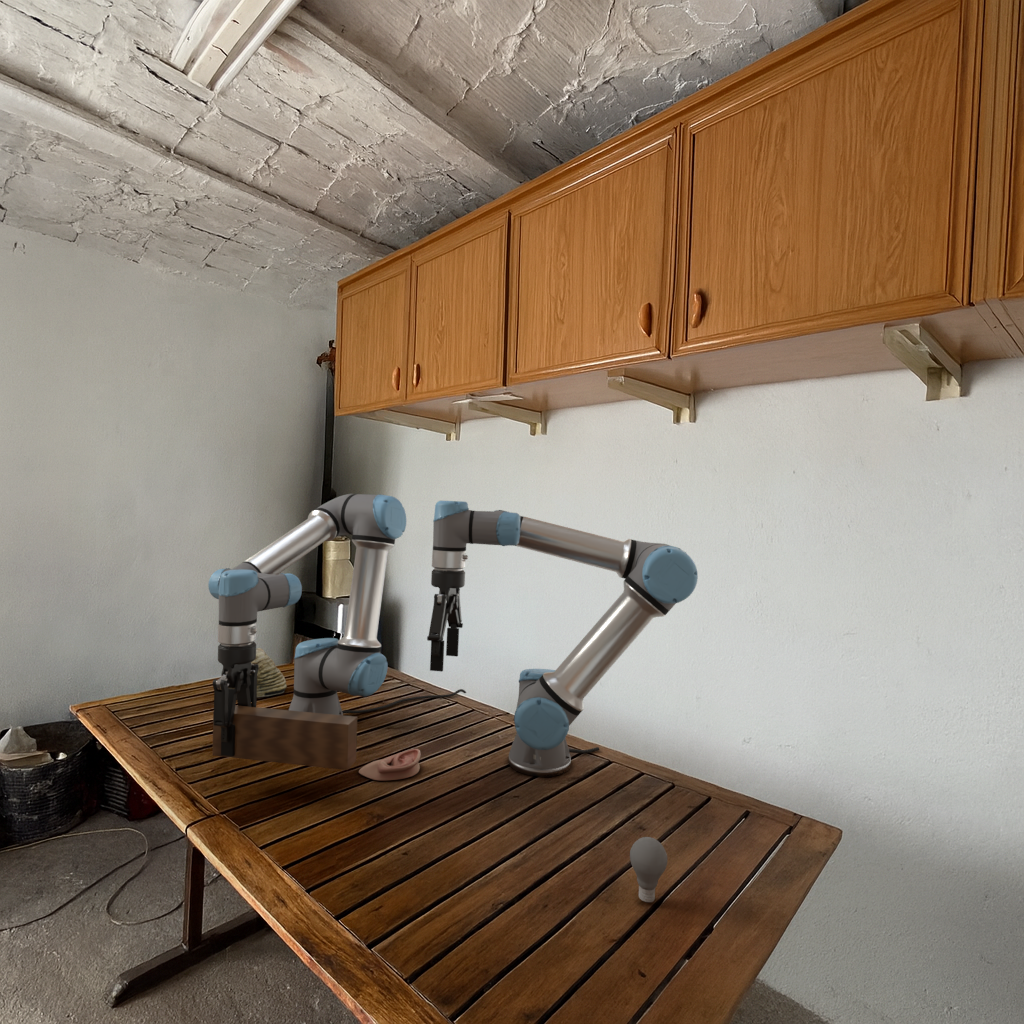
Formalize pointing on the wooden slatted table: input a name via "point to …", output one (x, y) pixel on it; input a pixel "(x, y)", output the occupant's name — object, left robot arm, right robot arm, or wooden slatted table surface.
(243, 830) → the wooden slatted table surface
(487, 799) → the wooden slatted table surface
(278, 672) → the fossil
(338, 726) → the bar
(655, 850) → the light bulb
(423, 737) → the wooden slatted table surface
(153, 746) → the wooden slatted table surface
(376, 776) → the anatomical model
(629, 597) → the right robot arm
